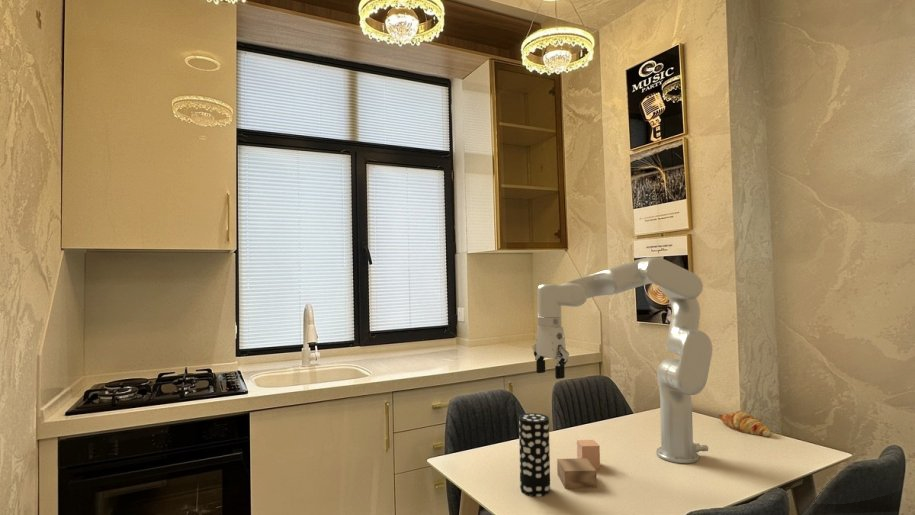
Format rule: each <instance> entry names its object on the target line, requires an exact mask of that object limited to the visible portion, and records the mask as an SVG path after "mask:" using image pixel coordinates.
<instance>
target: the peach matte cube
mask: <svg viewBox="0 0 915 515" xmlns="http://www.w3.org/2000/svg"><path fill="white" fill-rule="evenodd" d="M576 458H587V459H588V460H589V462H590V463H591V464H592V465H593V467H594V468H595V469H596V470H597V469H599V470H600V469H601V450H600V445H599V444H598V442H597V441H596V440H595V439H576Z"/></svg>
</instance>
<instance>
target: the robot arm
mask: <svg viewBox="0 0 915 515" xmlns="http://www.w3.org/2000/svg"><path fill="white" fill-rule="evenodd" d="M649 284H650V285H651V284H655V285H657V286H658V287H659V288H660V290H661V292H662V294H663V295H664V296H665V297H666V298H667V299H668V301H669V303H670V306H671V318H670V321H669V327H668V331H667V332H668V333H667V338H666V347H667V349H668V350H669V351H670V352H671V353H672V354H675V355H677V356H679V359H678V358H672V357H669V358H666V359H663V360H662V361H661V362H660V363H659V364H658V366H657V369H656V377H657V379H656V380H657V384H658V385H657V386H658V389H659V401H660V402H659V403H660V404H659V405H660V407H659V409H660V410H659V412H660V413H659V414H660V415H659V416H660V445H661V446H659V447H657V448H656V452H655V453H656V455H657V456H658V457H659V458H661V459H663V460H665V461H668V462H672V463H675V464H676V463H678V464H692V463H696V462H698V461H699V460H700V459H699V453H700V452H708V451H709V446H708V445H707V444H700V443H699V442H696V443H695V442H694V433H693V426H694V425H693V401H692V396H695V395H698V394H700V393H701V392H702V391H703V390H704V388H705V387H706V384H707V381H708V377H709V372H710V366H711V361H712V357H713V356H712V355H713V345H712V344H713V343H712V340H711V339H710V336H709V335H708V334H707V333H705V332H704V331H703V330H699V325H700V319H701V307H700V304H699V301H698V299H697V298H698V297H699V296H700V295H702V292H703V290H704V289H703V287H704V285H703V281H702V279H701V278H700V277H699V276H698V275H697V274H695V273H694V272H692V271H690V270H688V269H686V268H683V267H681V266H679V265H678V264H675V263H673V262H671V261H669V260H667V259H664V258H662V257H656V256H655V257H654V256H653V257H643V258H639V259H636V260H633V261H630V262H627V263H624V264H621V265H617V266H615V267H610V268H608V269H605V270H602V271H601V270H600V271H598V272H595V273H592V274H589V275H586V276H583V277H582V276H581V277H579V278H575V279H573V280H570V281H566V282H564V283H561V284H556V283H554V284H553V283H552V284H550V283H546V284H545V283H544V284H543V283H542V284H539V285H538V286H537V293H536V294H537V329H536V336H535V338H536V339H535V344H534V345H532V351H533V355H534V359H535V361H536V372H535V373H537V374H543V373H546V360H545V359H546V358H547V359H550V360H554V363H555V366H554V369H555V370H554V371H555V373H554V374H555V375H554V376H555V378H554V379H557V380H559V379H564V378H565V376H566V375H565V366H567V362H568V361H569V360H568V359H569V356H570V352H569V351H567V349H566V339H565V332H564V328H563V327H562V306H563V307H570V308H571V307H572V308H577V307H581V306H583V305H584V304H585V303H586V302H587V299H589V298H594V297H602V296H611V295H612V296H613V295H617V294H618V295H619V294H621V293H624V292H627V291H630V290H633V289H635V288H639V287H642V286H645V285H649Z"/></svg>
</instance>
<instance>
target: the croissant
mask: <svg viewBox="0 0 915 515" xmlns="http://www.w3.org/2000/svg"><path fill="white" fill-rule="evenodd" d="M718 417H719V420H720V421H721V422H722V423H723V424H724V425H725V426H726V427H728V428H730V429H731V430H734V431H738V432H741V433H744V434H745V433H746V434H751V435H756V436H759V435H760V436H762V437H770V436H772V432H771V430H770V429H769V427H768V426H767V425H765V424H764V423H763V422H762V421H761V420H760V419H758V418H754V416H752V414H750V413H748V412H745V411H741V410H739V411H736V412H731V413H727V414H726V413H724V414H719V415H718Z"/></svg>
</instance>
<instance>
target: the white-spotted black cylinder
mask: <svg viewBox="0 0 915 515" xmlns="http://www.w3.org/2000/svg"><path fill="white" fill-rule="evenodd" d="M518 422H519V423H518V428H519V429H518V430H519V431H518V435H519V437H518V439H519V490H520V492H521V493H522V494H524V495H526V496H530V497H535V498H537V497H545V496H547V495H549V494H550V492H551V464H550V463H551V460H550V459H551V458H550V455H551V454H550V452H551V451H550V417H549V416H547V415H546V414H543V413H542V414H541V413H534V412H533V413H532V412H529V413H523V414H520V415H519V416H518Z"/></svg>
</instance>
